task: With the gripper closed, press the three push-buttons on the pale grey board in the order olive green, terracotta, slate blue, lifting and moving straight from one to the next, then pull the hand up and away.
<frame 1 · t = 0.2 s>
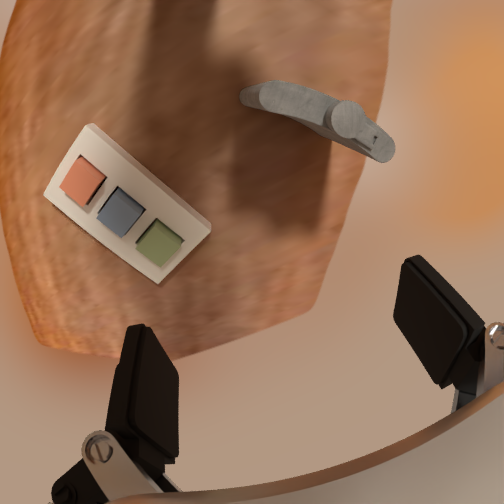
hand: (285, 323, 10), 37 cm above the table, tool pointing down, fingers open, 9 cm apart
hip flask: (289, 108, 40), on the table
button board: (125, 204, 43), on the table
terracotta button: (82, 181, 37), point 3 cm above the table, slide at 0.0 cm
olive green button: (158, 242, 44), point 3 cm above the table, slide at 0.0 cm
slate blue button: (120, 212, 40), point 3 cm above the table, slide at 0.0 cm
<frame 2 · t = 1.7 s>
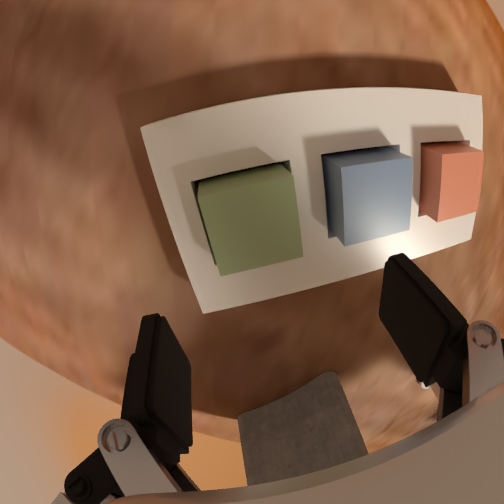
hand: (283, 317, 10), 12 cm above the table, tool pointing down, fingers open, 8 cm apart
hip flask: (286, 399, 36), on the table
button board: (346, 178, 21), on the table
terracotta button: (449, 178, 18), point 3 cm above the table, slide at 0.0 cm
olive green button: (250, 218, 17), point 3 cm above the table, slide at 0.0 cm
slate blue button: (368, 193, 18), point 3 cm above the table, slide at 0.0 cm
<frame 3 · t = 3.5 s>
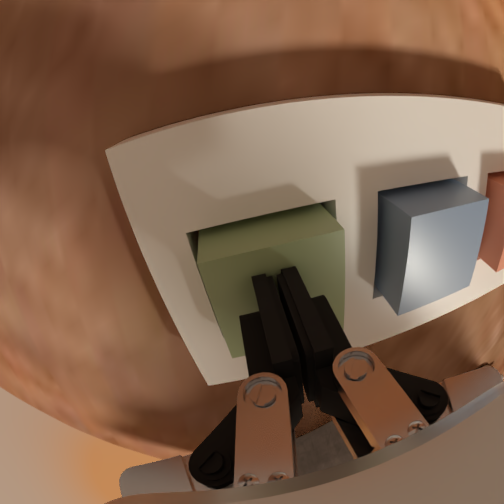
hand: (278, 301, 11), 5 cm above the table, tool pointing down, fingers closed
hip flask: (298, 439, 30), on the table
button board: (394, 214, 15), on the table
olive green button: (274, 280, 12), point 3 cm above the table, slide at 0.3 cm, touching gripper
slate blue button: (429, 242, 12), point 3 cm above the table, slide at 0.0 cm
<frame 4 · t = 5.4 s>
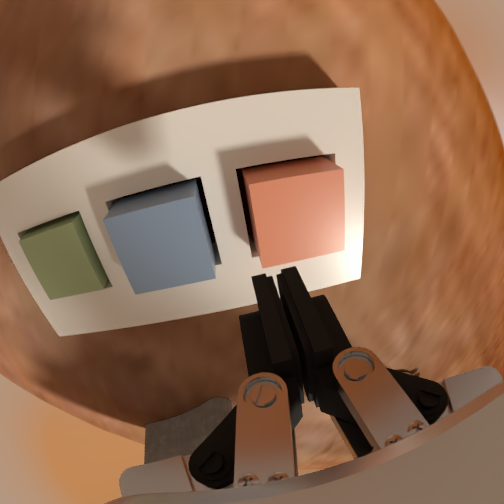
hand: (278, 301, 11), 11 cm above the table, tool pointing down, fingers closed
hip flask: (186, 416, 35), on the table
button board: (169, 214, 20), on the table
terracotta button: (294, 209, 17), point 3 cm above the table, slide at 0.0 cm
olive green button: (66, 253, 17), point 2 cm above the table, slide at 1.3 cm
slate blue button: (163, 237, 17), point 3 cm above the table, slide at 0.0 cm
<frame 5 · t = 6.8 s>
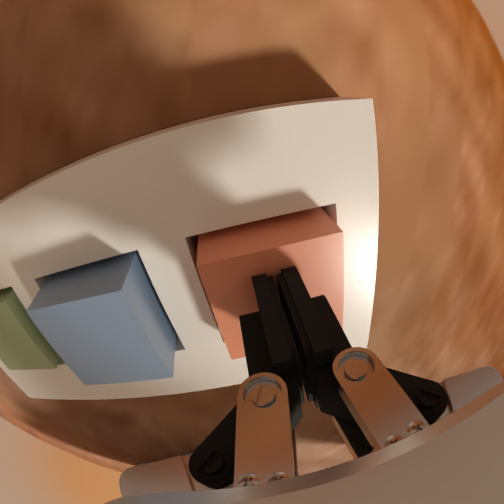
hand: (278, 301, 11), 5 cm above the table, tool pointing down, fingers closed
button board: (121, 281, 15), on the table
terracotta button: (273, 282, 12), point 3 cm above the table, slide at 0.5 cm, touching gripper
olive green button: (15, 324, 13), point 2 cm above the table, slide at 1.3 cm
slate blue button: (105, 323, 12), point 3 cm above the table, slide at 0.0 cm
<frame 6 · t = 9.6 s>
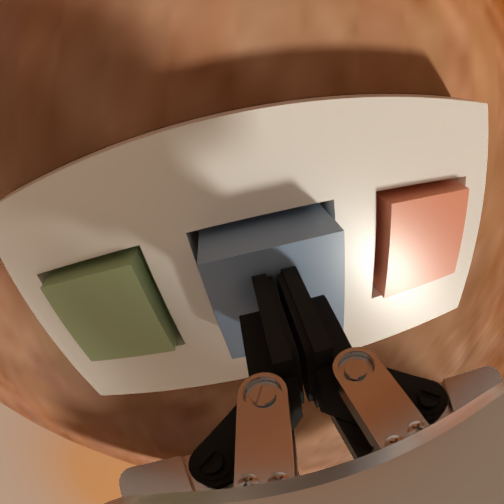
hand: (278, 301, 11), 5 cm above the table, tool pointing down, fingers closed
button board: (261, 244, 15), on the table
terracotta button: (413, 230, 13), point 2 cm above the table, slide at 1.3 cm
olive green button: (113, 301, 13), point 2 cm above the table, slide at 1.3 cm
slate blue button: (274, 281, 12), point 3 cm above the table, slide at 0.1 cm, touching gripper
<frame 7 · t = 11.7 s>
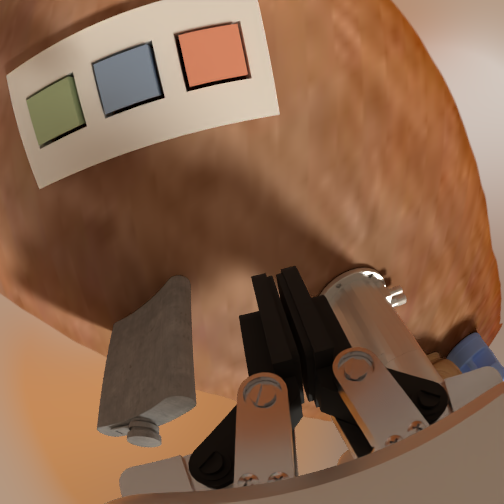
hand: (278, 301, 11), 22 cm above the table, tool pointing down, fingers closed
hip flask: (150, 309, 39), on the table
sculpture: (419, 367, 70), on the table
water jug: (461, 347, 73), on the table
button board: (133, 79, 23), on the table
terracotta button: (212, 55, 21), point 2 cm above the table, slide at 1.3 cm
olive green button: (58, 110, 21), point 2 cm above the table, slide at 1.3 cm
slate blue button: (128, 79, 21), point 2 cm above the table, slide at 1.3 cm
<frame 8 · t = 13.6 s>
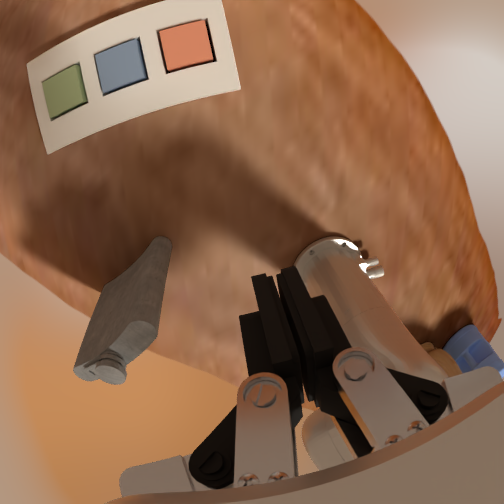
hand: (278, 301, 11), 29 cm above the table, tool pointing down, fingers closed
hip flask: (136, 270, 43), on the table
sculpture: (413, 358, 70), on the table
water jug: (457, 340, 72), on the table
button board: (127, 68, 28), on the table
terracotta button: (186, 46, 26), point 2 cm above the table, slide at 1.3 cm
olive green button: (66, 91, 26), point 2 cm above the table, slide at 1.3 cm
slate blue button: (122, 66, 26), point 2 cm above the table, slide at 1.3 cm
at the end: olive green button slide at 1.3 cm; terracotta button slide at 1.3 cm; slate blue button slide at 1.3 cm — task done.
